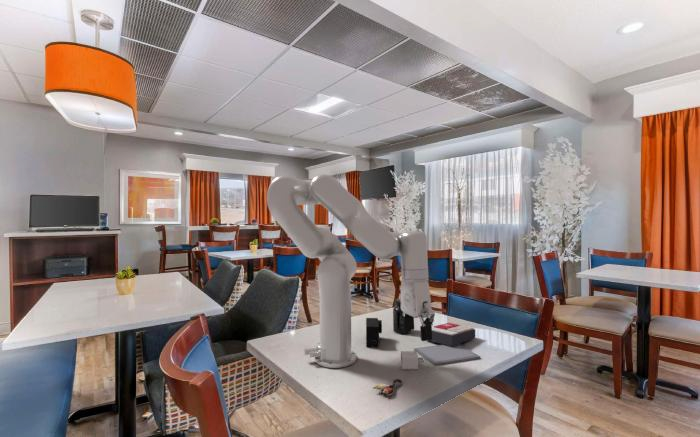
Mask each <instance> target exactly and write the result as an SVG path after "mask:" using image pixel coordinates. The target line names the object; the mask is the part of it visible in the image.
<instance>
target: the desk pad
mask: <svg viewBox="0 0 700 437" xmlns="http://www.w3.org/2000/svg"><path fill="white" fill-rule="evenodd" d="M413 351H416V353H417V355H419V356H421V358H423V359H425V361H428V362H429V363H430V364H431V365H433V366H441V365H447V364H448V365H449V364H452V363H453V364H454V363H455V364H456V363H461V362H467V361H473V360H474V361H475V360H479V359H481V356H480V355H479V354H477V353H476V352H473V351H472V350H469V348H468V349H467V348H466V347H465V346H462V345H461V344H459V345H457V346H454V347H451V346H448V345H444V344H439V345H438V344H437V345H432V346H431V345H430V346H424V347H416V348H413Z"/></svg>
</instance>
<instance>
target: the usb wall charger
mask: <svg viewBox="0 0 700 437" xmlns="http://www.w3.org/2000/svg"><path fill="white" fill-rule="evenodd" d="M418 355H419V354H418V353H417V352H416V351H414V350H412V351H411V350H410V351H409V350H406V351H404V350H403V351H402V350H401V351H400V366H401V369H402V370H413V371H414V370H416V371H417V370H419V364H427V363H428V362H427V361H428V360H426V359H425V358H424V357H420V356H418Z"/></svg>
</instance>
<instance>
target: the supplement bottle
mask: <svg viewBox="0 0 700 437" xmlns="http://www.w3.org/2000/svg"><path fill="white" fill-rule="evenodd" d="M403 317H404V316H403V311H402V310H401V298H396V299H395V305H394V307H393V308H392V328H393V332H394V333H395V334H399V335H408V334H410V333H411V332H412V330H408V331H405V330H404V318H403Z"/></svg>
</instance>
